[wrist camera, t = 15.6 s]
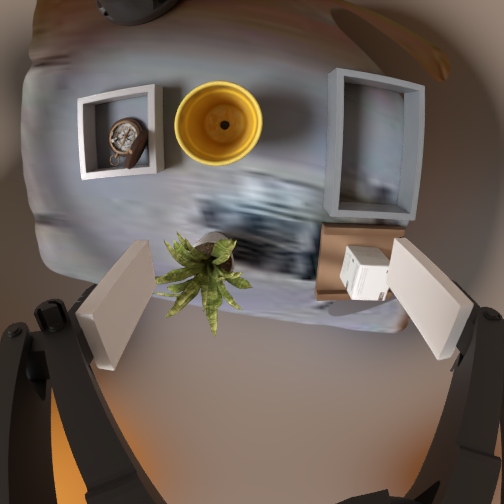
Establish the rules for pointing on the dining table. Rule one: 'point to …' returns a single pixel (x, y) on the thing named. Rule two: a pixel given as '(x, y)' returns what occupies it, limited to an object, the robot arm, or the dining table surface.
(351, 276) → the skincare box
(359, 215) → the grey storage bin
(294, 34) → the dining table surface
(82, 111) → the dish
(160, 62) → the dining table surface
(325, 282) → the tray
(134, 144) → the compass
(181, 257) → the house plant
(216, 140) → the plant pot
